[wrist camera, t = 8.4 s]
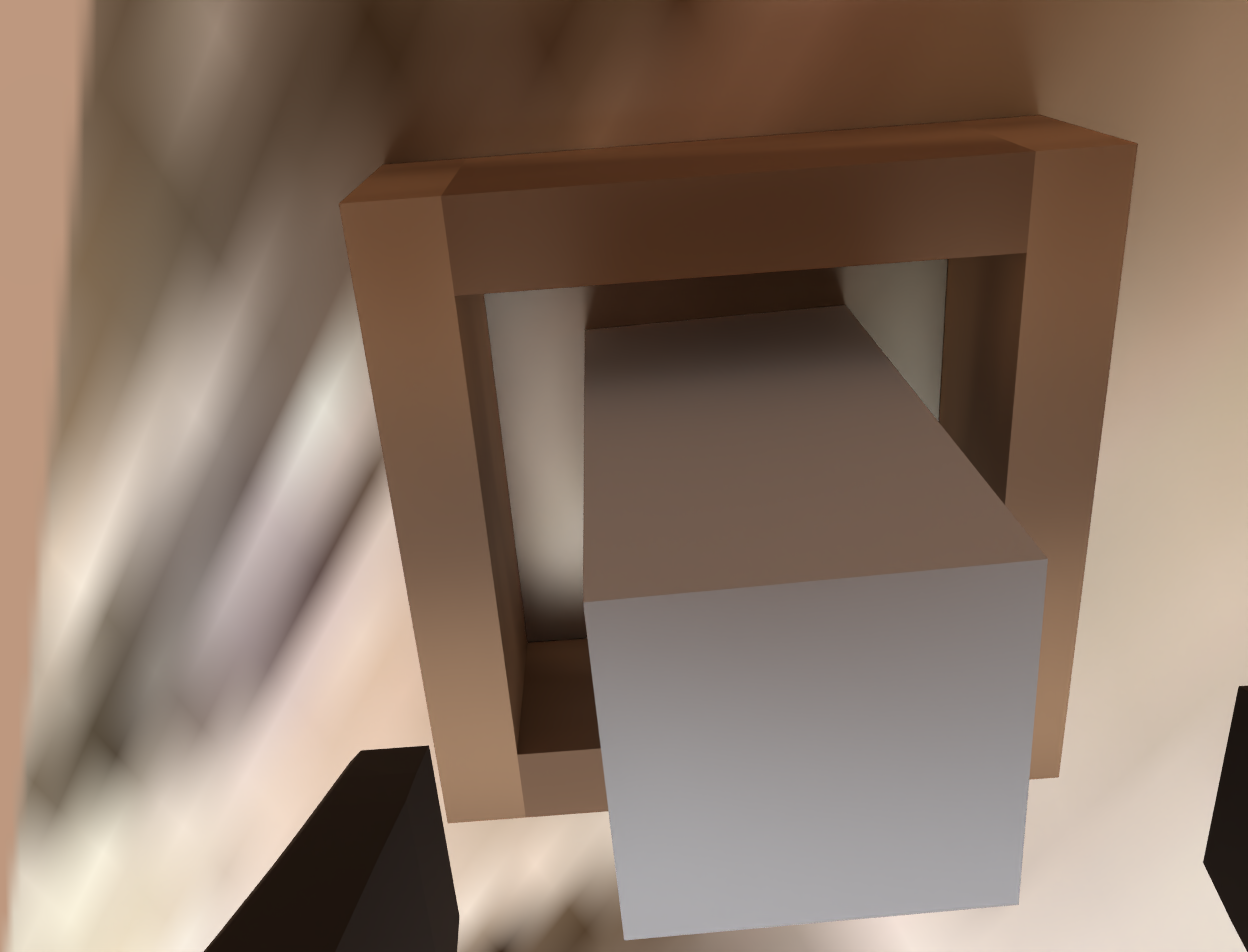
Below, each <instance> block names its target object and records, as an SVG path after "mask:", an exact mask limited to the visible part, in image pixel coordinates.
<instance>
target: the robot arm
mask: <svg viewBox="0 0 1248 952" xmlns="http://www.w3.org/2000/svg"><path fill="white" fill-rule="evenodd" d="M1203 863H1204V865H1205V867H1206V870H1207V872H1208V874H1209V876H1210V878H1211V880H1212V882H1213V884H1214V886H1215V888H1216V890H1217V892H1218V894H1219V897H1220V899H1221V901H1222V903H1223V905H1224V907H1225V909H1226V911H1227V913H1228V915H1229V917H1230V919H1231V921H1232V923H1233V925H1234V927H1235V929H1236V931H1237V933H1238V935H1239V937H1240V939H1241V941H1242V942H1243V944H1244V946H1245V948H1246V950H1247V952H1248V686H1239V688H1238V692H1237V697H1236V702H1235V707H1234V712H1233V717H1232V722H1231V727H1230V732H1229V737H1228V742H1227V747H1226V752H1225V757H1224V762H1223V767H1222V772H1221V777H1220V782H1219V787H1218V792H1217V797H1216V801H1215V806H1214V811H1213V816H1212V821H1211V826H1210V831H1209V836H1208V841H1207V846H1206V851H1205V856H1204V861H1203ZM458 929H459V912H458V906H457V901H456V895H455V889H454V884H453V878H452V873H451V867H450V861H449V856H448V850H447V844H446V839H445V833H444V828H443V822H442V816H441V811H440V805H439V799H438V794H437V788H436V783H435V777H434V771H433V766H432V760H431V755H430V749H429V746H417V747H403V748H390V749H376V750H362V751H360V752H359V753H358V754H357V755H356V757H355V758H354V759H353V760H352V761H351V762H350V763H349V765H348V766H347V767H346V769H345V770H344V771H343V773H342V774H341V775H340V777H339V778H338V779H337V781H336V782H335V783H334V785H333V786H332V787H331V789H330V790H329V791H328V793H327V794H326V796H325V797H324V798H323V800H322V801H321V802H320V804H319V805H318V806H317V808H316V809H315V810H314V812H313V813H312V814H311V816H310V817H309V818H308V820H307V821H306V823H305V824H304V825H303V827H302V828H301V829H300V831H299V832H298V833H297V834H296V836H295V837H294V838H293V840H292V841H291V842H290V844H289V845H288V846H287V848H286V849H285V850H284V852H283V853H282V854H281V856H280V857H279V858H278V859H277V861H276V862H275V863H274V865H273V866H272V867H271V869H270V870H269V871H268V872H267V874H266V875H265V876H264V877H263V879H262V880H261V881H260V882H259V884H258V885H257V886H256V887H255V889H254V890H253V891H252V892H251V894H250V895H249V896H248V897H247V899H246V900H245V901H244V902H243V904H242V905H241V906H240V907H239V909H238V910H237V911H236V912H235V914H234V915H233V916H232V917H231V919H230V920H229V921H228V922H227V924H226V925H225V926H224V927H223V929H222V930H221V931H220V932H219V934H218V935H217V936H216V937H215V939H214V940H213V941H212V942H211V943H210V945H209V946H208V947H207V948H206V949H205V951H204V952H457V944H458Z"/></svg>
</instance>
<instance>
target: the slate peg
mask: <svg viewBox="0 0 1248 952" xmlns="http://www.w3.org/2000/svg"><path fill="white" fill-rule="evenodd" d="M1047 564H1048V559H1047V557H1046V556H1045V555H1044V554H1043V552H1042V551H1041V550H1040V549H1039V547H1038V546H1037V545H1036V544H1035V542H1034V541H1033V540H1032V539H1031V537H1030V536H1029V535H1028V534H1027V532H1026V531H1025V530H1024V529H1023V527H1022V526H1021V525H1020V524H1019V522H1018V521H1017V520H1016V518H1015V517H1014V516H1013V515H1012V513H1011V512H1010V511H1009V510H1008V508H1007V507H1006V506H1005V505H1004V503H1003V502H1002V501H1001V500H1000V498H999V497H998V496H997V495H996V493H995V492H994V491H993V490H992V488H991V487H990V486H989V485H988V483H987V482H986V481H985V480H984V478H983V477H982V476H981V475H980V473H979V472H978V471H977V470H976V468H975V467H974V466H973V465H972V463H971V462H970V461H969V460H968V458H967V457H966V456H965V455H964V453H963V452H962V451H961V450H960V448H959V447H958V446H957V444H956V443H955V442H954V441H953V439H952V438H951V437H950V436H949V434H948V433H947V432H946V431H945V429H944V428H943V427H942V426H941V424H940V423H939V422H938V421H937V419H936V418H935V417H934V416H933V414H932V413H931V412H930V411H929V409H928V408H927V407H926V406H925V404H924V403H923V402H922V401H921V399H920V398H919V397H918V396H917V394H916V393H915V392H914V391H913V389H912V388H911V387H910V386H909V384H908V383H907V382H906V381H905V379H904V378H903V377H902V375H901V374H900V373H899V372H898V370H897V369H896V368H895V367H894V365H893V364H892V363H891V362H890V360H889V359H888V358H887V357H886V355H885V354H884V353H883V352H882V350H881V349H880V348H879V347H878V345H877V344H876V343H875V342H874V340H873V339H872V338H871V337H870V335H869V334H868V333H867V332H866V330H865V329H864V328H863V327H862V325H861V324H860V323H859V322H858V320H857V319H856V318H855V317H854V315H853V314H852V313H851V312H850V310H849V309H848V308H847V306H846V305H840V306H829V307H819V308H808V309H798V310H787V311H777V312H767V313H756V314H746V315H735V316H725V317H714V318H704V319H693V320H683V321H672V322H662V323H651V324H641V325H630V326H620V327H610V328H599V329H589V330H585V377H584V530H583V606H584V615H585V623H586V631H587V639H588V647H589V655H590V663H591V672H592V680H593V688H594V696H595V704H596V712H597V721H598V729H599V737H600V745H601V753H602V761H603V770H604V778H605V786H606V794H607V802H608V810H609V819H610V827H611V835H612V843H613V851H614V859H615V868H616V876H617V884H618V892H619V900H620V908H621V917H622V925H623V933H624V940H633V939H644V938H655V937H666V936H677V935H688V934H699V933H710V932H721V931H732V930H743V929H754V928H765V927H776V926H788V925H799V924H810V923H821V922H832V921H843V920H854V919H865V918H876V917H887V916H898V915H909V914H920V913H931V912H942V911H953V910H964V909H976V908H987V907H998V906H1009V905H1019V893H1020V881H1021V870H1022V858H1023V846H1024V834H1025V823H1026V811H1027V799H1028V787H1029V776H1030V764H1031V752H1032V740H1033V728H1034V717H1035V705H1036V693H1037V681H1038V670H1039V658H1040V646H1041V634H1042V623H1043V611H1044V599H1045V587H1046V576H1047Z"/></svg>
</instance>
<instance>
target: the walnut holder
mask: <svg viewBox="0 0 1248 952" xmlns="http://www.w3.org/2000/svg"><path fill="white" fill-rule="evenodd" d="M1137 145H1138V144H1137V143H1134V142H1131V141H1127V140H1124V139H1120V138H1117V137H1114V136H1110V135H1107V134H1103V133H1100V132H1097V131H1093V130H1090V129H1086V128H1083V127H1079V126H1076V125H1073V124H1069V123H1066V122H1062V121H1059V120H1056V119H1052V118H1049V117H1045V116H1042V115H1034V116H1021V117H1008V118H994V119H981V120H968V121H954V122H941V123H928V124H915V125H901V126H888V127H875V128H862V129H848V130H835V131H822V132H808V133H795V134H782V135H769V136H755V137H742V138H729V139H716V140H702V141H689V142H676V143H663V144H649V145H636V146H623V147H609V148H596V149H583V150H570V151H556V152H543V153H530V154H517V155H503V156H490V157H477V158H463V159H450V160H437V161H424V162H410V163H397V164H384V165H382V166H381V167H379V168H378V169H377V170H376V171H375V172H374V173H373V174H372V175H370V176H369V177H368V178H367V179H366V180H365V181H364V182H363V183H362V184H360V185H359V186H358V187H357V188H356V189H355V190H354V191H353V192H351V193H350V194H349V195H348V196H347V197H346V198H345V199H344V200H343V201H341V202H340V203H339V207H340V213H341V219H342V225H343V230H344V236H345V242H346V247H347V253H348V259H349V264H350V270H351V276H352V281H353V287H354V293H355V298H356V304H357V310H358V315H359V321H360V327H361V332H362V338H363V344H364V350H365V355H366V361H367V367H368V372H369V378H370V384H371V389H372V395H373V401H374V406H375V412H376V418H377V423H378V429H379V435H380V440H381V446H382V452H383V458H384V463H385V469H386V475H387V480H388V486H389V492H390V497H391V503H392V509H393V514H394V520H395V526H396V531H397V537H398V543H399V548H400V554H401V560H402V566H403V571H404V577H405V583H406V588H407V594H408V600H409V605H410V611H411V617H412V622H413V628H414V634H415V639H416V645H417V651H418V656H419V662H420V668H421V673H422V679H423V685H424V691H425V696H426V702H427V708H428V713H429V719H430V725H431V730H432V736H433V742H434V747H435V753H436V759H437V764H438V770H439V776H440V781H441V787H442V793H443V799H444V804H445V810H446V816H447V821H448V823H457V822H471V821H484V820H497V819H510V818H524V817H537V816H550V815H564V814H577V813H590V812H603V811H609V810H608V802H607V794H606V786H605V778H604V770H603V761H602V753H601V745H600V737H599V729H598V721H597V712H596V704H595V696H594V688H593V680H592V672H591V663H590V655H589V647H588V639H587V638H586V639H573V640H560V641H547V642H533V643H527V636H526V628H525V620H524V612H523V604H522V596H521V588H520V580H519V572H518V564H517V556H516V548H515V540H514V532H513V524H512V516H511V508H510V500H509V492H508V484H507V476H506V468H505V460H504V452H503V444H502V436H501V429H500V421H499V413H498V405H497V397H496V389H495V381H494V373H493V365H492V357H491V349H490V341H489V333H488V325H487V317H486V309H485V301H484V294H486V293H499V292H513V291H526V290H539V289H553V288H566V287H579V286H592V285H606V284H619V283H632V282H646V281H659V280H672V279H685V278H699V277H712V276H725V275H738V274H752V273H765V272H778V271H792V270H805V269H818V268H831V267H845V266H858V265H871V264H884V263H898V262H911V261H924V260H938V259H948V277H947V294H946V312H945V330H944V347H943V365H942V382H941V400H940V417H939V423H940V424H941V426H942V427H943V428H944V429H945V431H946V432H947V433H948V434H949V436H950V437H951V438H952V439H953V441H954V442H955V443H956V444H957V446H958V447H959V448H960V450H961V451H962V452H963V453H964V455H965V456H966V457H967V458H968V460H969V461H970V462H971V463H972V465H973V466H974V467H975V468H976V470H977V471H978V472H979V473H980V475H981V476H982V477H983V478H984V480H985V481H986V482H987V483H988V485H989V486H990V487H991V488H992V490H993V491H994V492H995V493H996V495H997V496H998V497H999V498H1000V500H1001V501H1002V502H1003V503H1004V505H1005V506H1006V507H1007V508H1008V510H1009V511H1010V512H1011V513H1012V515H1013V516H1014V517H1015V518H1016V520H1017V521H1018V522H1019V524H1020V525H1021V526H1022V527H1023V529H1024V530H1025V531H1026V532H1027V534H1028V535H1029V536H1030V537H1031V539H1032V540H1033V541H1034V542H1035V544H1036V545H1037V546H1038V547H1039V549H1040V550H1041V551H1042V552H1043V554H1044V555H1045V556H1046V557H1047V559H1048V564H1047V576H1046V587H1045V599H1044V611H1043V623H1042V634H1041V646H1040V658H1039V670H1038V681H1037V693H1036V705H1035V717H1034V728H1033V740H1032V752H1031V764H1030V776H1029V779H1042V778H1055V777H1059V770H1060V762H1061V754H1062V746H1063V738H1064V730H1065V722H1066V714H1067V706H1068V698H1069V690H1070V682H1071V674H1072V666H1073V658H1074V650H1075V642H1076V634H1077V626H1078V618H1079V610H1080V602H1081V594H1082V586H1083V578H1084V570H1085V562H1086V554H1087V546H1088V538H1089V530H1090V522H1091V514H1092V506H1093V498H1094V490H1095V482H1096V474H1097V466H1098V458H1099V450H1100V442H1101V434H1102V426H1103V418H1104V410H1105V402H1106V394H1107V386H1108V378H1109V370H1110V362H1111V354H1112V345H1113V337H1114V329H1115V321H1116V313H1117V305H1118V297H1119V289H1120V281H1121V273H1122V265H1123V257H1124V249H1125V241H1126V233H1127V225H1128V217H1129V209H1130V201H1131V193H1132V185H1133V177H1134V169H1135V161H1136V153H1137Z"/></svg>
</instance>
